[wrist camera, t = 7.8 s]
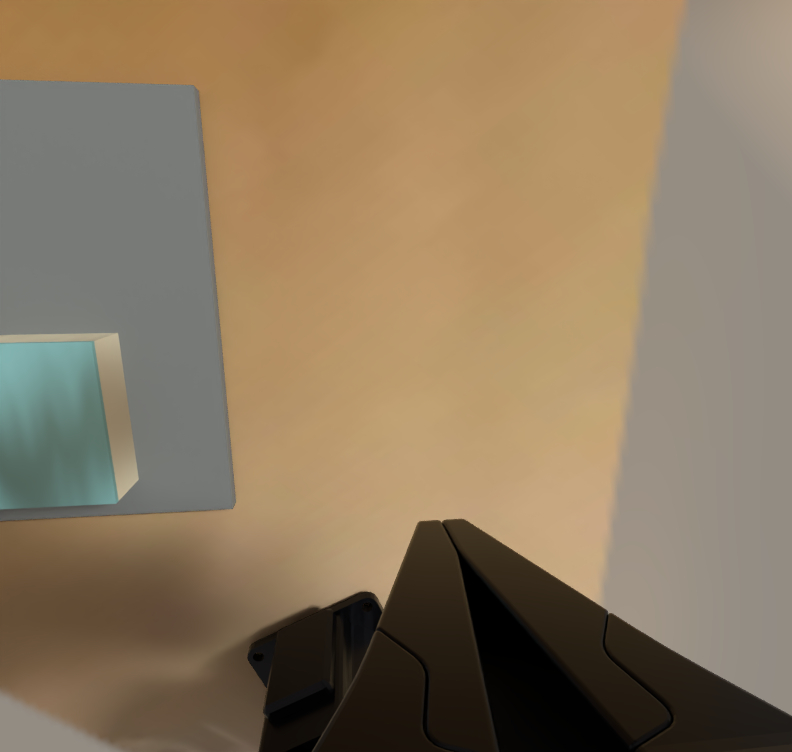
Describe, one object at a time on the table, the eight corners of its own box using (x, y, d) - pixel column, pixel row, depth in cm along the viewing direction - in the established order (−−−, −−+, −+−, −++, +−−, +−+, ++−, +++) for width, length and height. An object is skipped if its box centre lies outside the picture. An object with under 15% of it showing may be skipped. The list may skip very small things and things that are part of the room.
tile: (116, 503, 18) (-124, 515, 17) (138, 479, 20) (-76, 489, 19) (91, 341, 16) (-172, 347, 16) (118, 332, 18) (-115, 337, 18)
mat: (235, 501, 21) (232, 508, 20) (-65, 517, 20) (-78, 525, 19) (198, 90, 17) (193, 85, 17) (-177, 80, 16) (-197, 74, 15)
